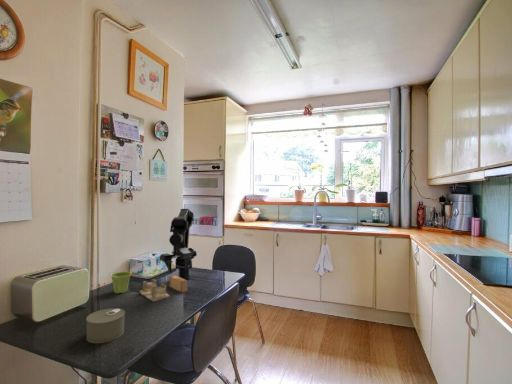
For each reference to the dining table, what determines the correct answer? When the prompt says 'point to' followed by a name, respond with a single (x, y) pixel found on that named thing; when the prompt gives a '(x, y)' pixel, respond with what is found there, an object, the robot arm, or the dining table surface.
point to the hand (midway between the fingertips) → (178, 271)
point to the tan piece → (154, 291)
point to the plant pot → (120, 281)
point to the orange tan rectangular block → (178, 283)
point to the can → (105, 325)
